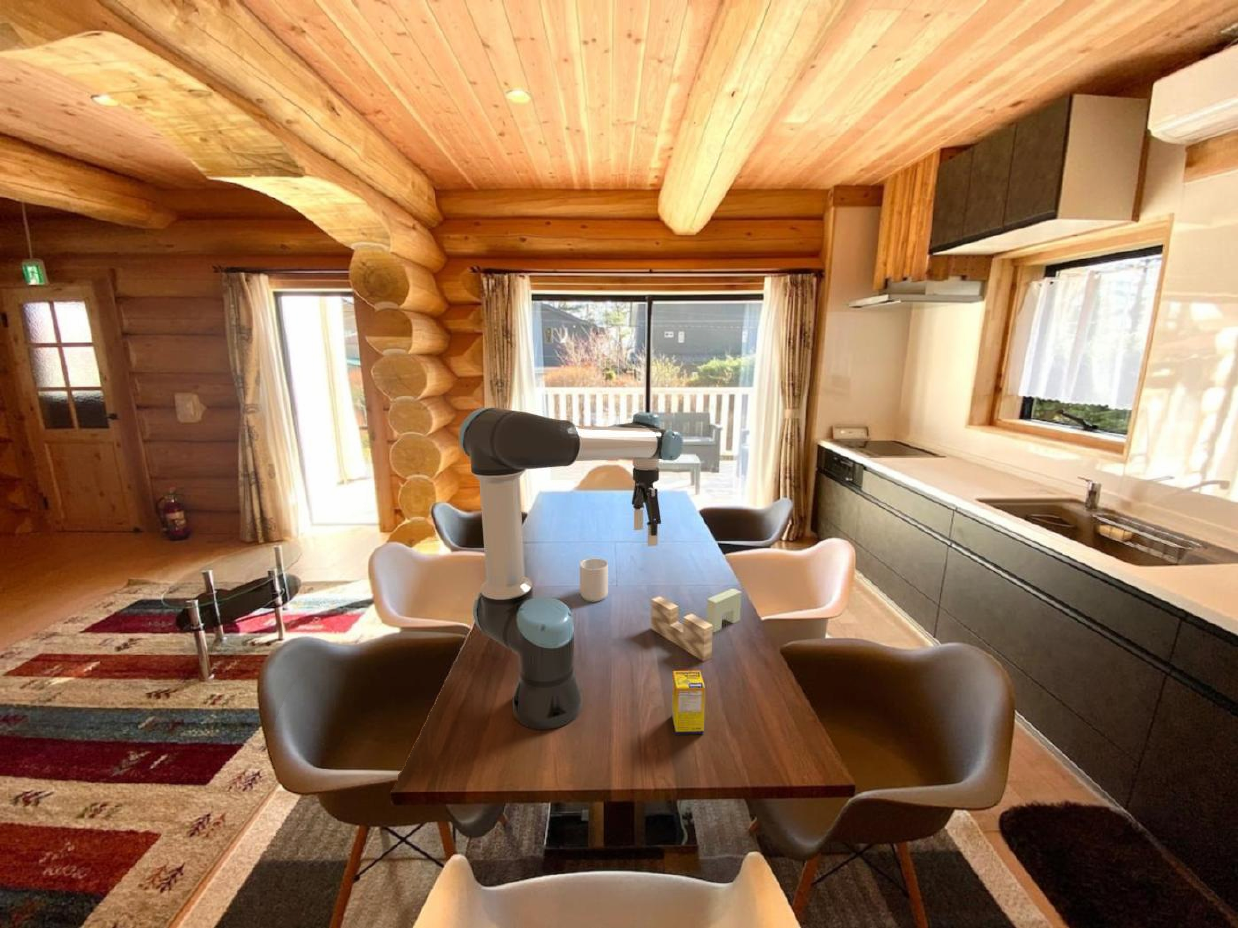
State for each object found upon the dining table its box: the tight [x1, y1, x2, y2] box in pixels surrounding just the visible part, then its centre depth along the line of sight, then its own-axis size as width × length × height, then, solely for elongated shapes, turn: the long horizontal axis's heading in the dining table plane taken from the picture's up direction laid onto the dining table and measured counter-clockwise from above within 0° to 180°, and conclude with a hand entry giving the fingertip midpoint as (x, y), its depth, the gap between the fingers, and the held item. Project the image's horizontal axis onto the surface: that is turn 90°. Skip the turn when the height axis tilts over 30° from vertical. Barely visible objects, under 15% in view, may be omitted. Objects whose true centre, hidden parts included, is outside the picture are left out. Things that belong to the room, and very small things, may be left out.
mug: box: [579, 558, 609, 603], centre depth 166 cm, size 12×9×11 cm
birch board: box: [650, 595, 714, 662], centre depth 139 cm, size 20×3×9 cm, turn 38°
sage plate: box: [706, 588, 742, 633], centre depth 148 cm, size 11×3×9 cm, turn 128°
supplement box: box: [671, 670, 706, 736], centre depth 107 cm, size 6×6×11 cm
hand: (645, 537), depth 153 cm, fingers open, 13 cm apart
